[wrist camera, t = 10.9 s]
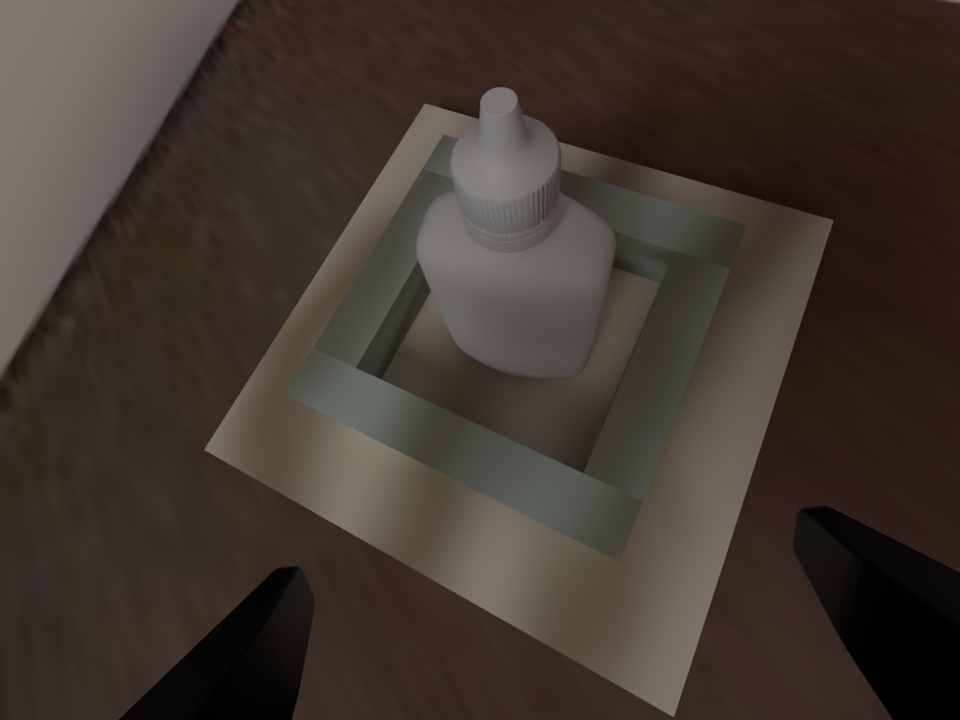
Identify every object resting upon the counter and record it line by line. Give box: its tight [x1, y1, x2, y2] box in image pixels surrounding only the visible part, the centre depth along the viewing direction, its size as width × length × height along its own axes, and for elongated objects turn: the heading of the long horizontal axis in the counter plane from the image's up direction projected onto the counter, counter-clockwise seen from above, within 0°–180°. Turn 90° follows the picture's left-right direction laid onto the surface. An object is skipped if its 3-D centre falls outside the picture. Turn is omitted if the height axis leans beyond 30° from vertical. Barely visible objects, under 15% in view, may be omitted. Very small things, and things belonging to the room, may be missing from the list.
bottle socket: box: [204, 104, 833, 717], centre depth 20 cm, size 20×20×4 cm
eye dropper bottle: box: [416, 87, 616, 379], centre depth 15 cm, size 4×6×12 cm
